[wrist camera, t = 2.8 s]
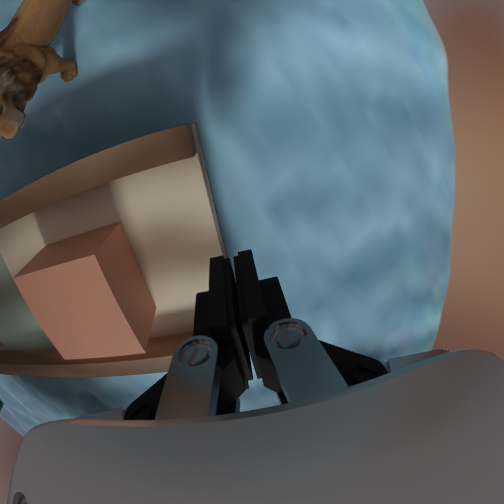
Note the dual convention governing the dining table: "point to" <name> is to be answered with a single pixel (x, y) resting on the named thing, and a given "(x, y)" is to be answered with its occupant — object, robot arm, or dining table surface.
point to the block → (89, 295)
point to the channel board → (139, 236)
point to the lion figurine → (30, 58)
